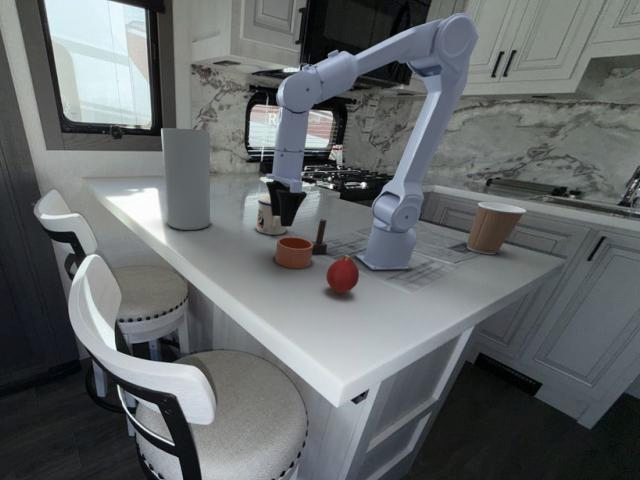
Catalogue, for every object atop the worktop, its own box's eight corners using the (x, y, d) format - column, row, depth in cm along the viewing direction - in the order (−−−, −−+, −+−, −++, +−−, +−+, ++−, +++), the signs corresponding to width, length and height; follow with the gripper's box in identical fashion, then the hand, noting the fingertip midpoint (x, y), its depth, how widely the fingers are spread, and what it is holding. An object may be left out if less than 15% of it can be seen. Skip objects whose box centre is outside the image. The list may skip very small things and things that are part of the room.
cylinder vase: (175, 233, 85) (169, 130, 72) (162, 220, 94) (155, 127, 81) (216, 228, 90) (217, 132, 77) (200, 217, 99) (199, 129, 87)
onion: (331, 283, 63) (339, 246, 59) (358, 292, 60) (369, 254, 56) (318, 293, 59) (326, 254, 55) (346, 303, 56) (357, 264, 52)
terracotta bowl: (303, 254, 76) (306, 236, 74) (315, 268, 69) (318, 249, 67) (271, 254, 75) (273, 236, 73) (280, 268, 68) (282, 249, 66)
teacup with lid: (254, 225, 95) (257, 186, 89) (283, 226, 95) (288, 187, 89) (258, 238, 84) (261, 195, 78) (290, 239, 85) (296, 196, 79)
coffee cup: (511, 255, 83) (535, 210, 77) (487, 258, 80) (510, 212, 74) (475, 242, 92) (494, 201, 85) (451, 245, 88) (469, 202, 82)
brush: (321, 250, 79) (328, 218, 74) (325, 254, 77) (332, 221, 72) (308, 251, 78) (314, 218, 74) (311, 254, 76) (317, 221, 72)
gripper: (261, 146, 64) (256, 211, 71) (279, 154, 52) (271, 231, 59) (293, 147, 65) (285, 211, 72) (318, 155, 53) (305, 231, 60)
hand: (281, 220), depth 66 cm, fingers open, 7 cm apart
